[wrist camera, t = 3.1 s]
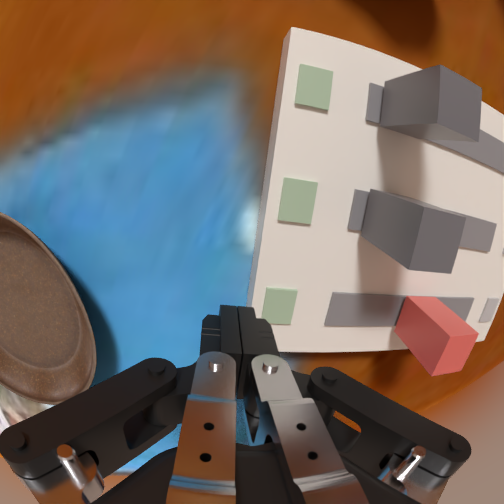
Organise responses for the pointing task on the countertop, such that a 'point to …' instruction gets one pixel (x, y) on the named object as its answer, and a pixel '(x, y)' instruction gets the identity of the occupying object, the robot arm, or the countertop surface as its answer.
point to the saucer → (41, 321)
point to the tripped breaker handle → (435, 334)
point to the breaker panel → (368, 169)
